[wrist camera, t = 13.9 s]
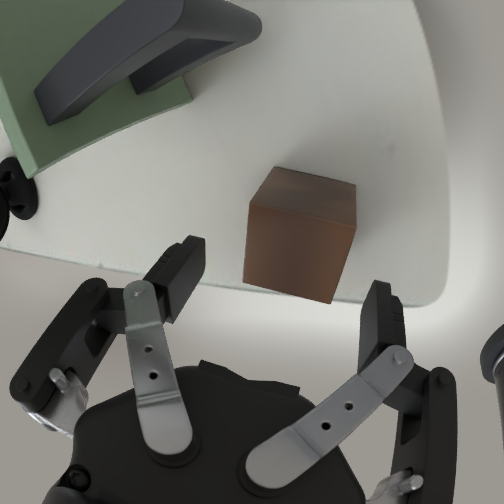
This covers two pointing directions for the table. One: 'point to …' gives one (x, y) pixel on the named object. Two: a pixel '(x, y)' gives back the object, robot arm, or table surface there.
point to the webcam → (15, 194)
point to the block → (299, 234)
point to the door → (102, 66)
